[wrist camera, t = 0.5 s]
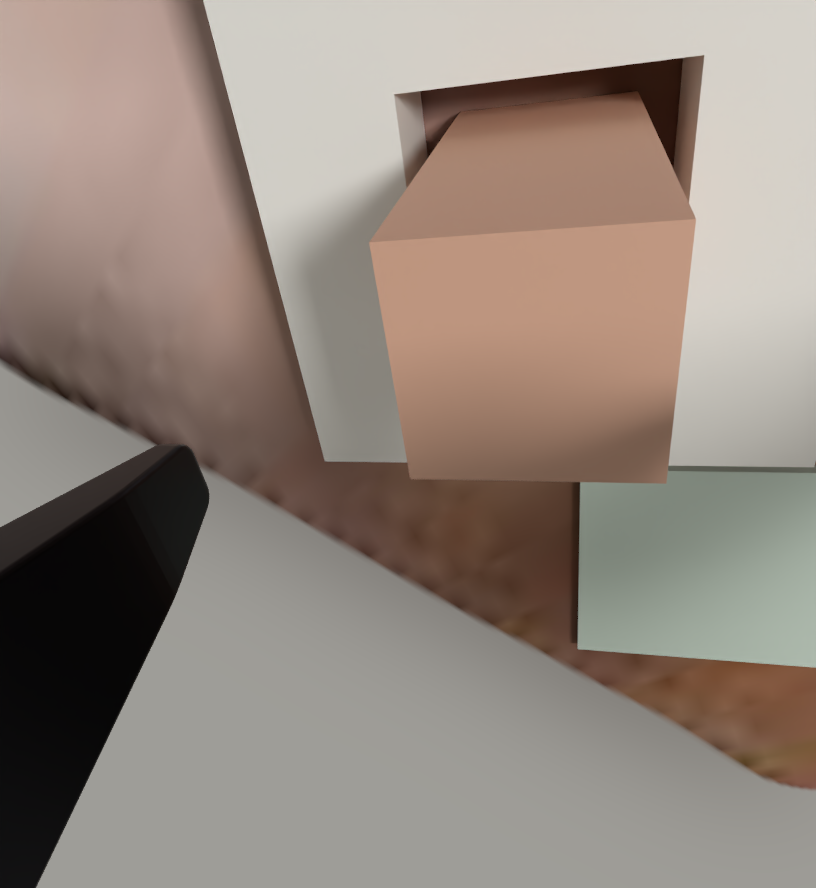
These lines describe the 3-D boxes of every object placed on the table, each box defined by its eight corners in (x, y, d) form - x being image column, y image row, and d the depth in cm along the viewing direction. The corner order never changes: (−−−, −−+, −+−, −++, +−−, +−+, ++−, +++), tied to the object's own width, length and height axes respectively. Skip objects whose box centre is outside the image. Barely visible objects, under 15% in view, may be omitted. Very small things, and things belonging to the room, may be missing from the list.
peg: (637, 90, 17) (695, 219, 9) (628, 264, 19) (666, 483, 11) (460, 111, 18) (368, 242, 10) (473, 273, 20) (410, 479, 12)
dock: (933, -237, 12) (1018, -282, 10) (786, 408, 21) (814, 467, 18) (235, -91, 16) (177, -99, 14) (349, 411, 24) (324, 461, 22)
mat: (903, 466, 21) (908, 474, 21) (831, 660, 27) (834, 668, 26) (580, 463, 24) (580, 469, 23) (577, 641, 29) (577, 649, 29)
